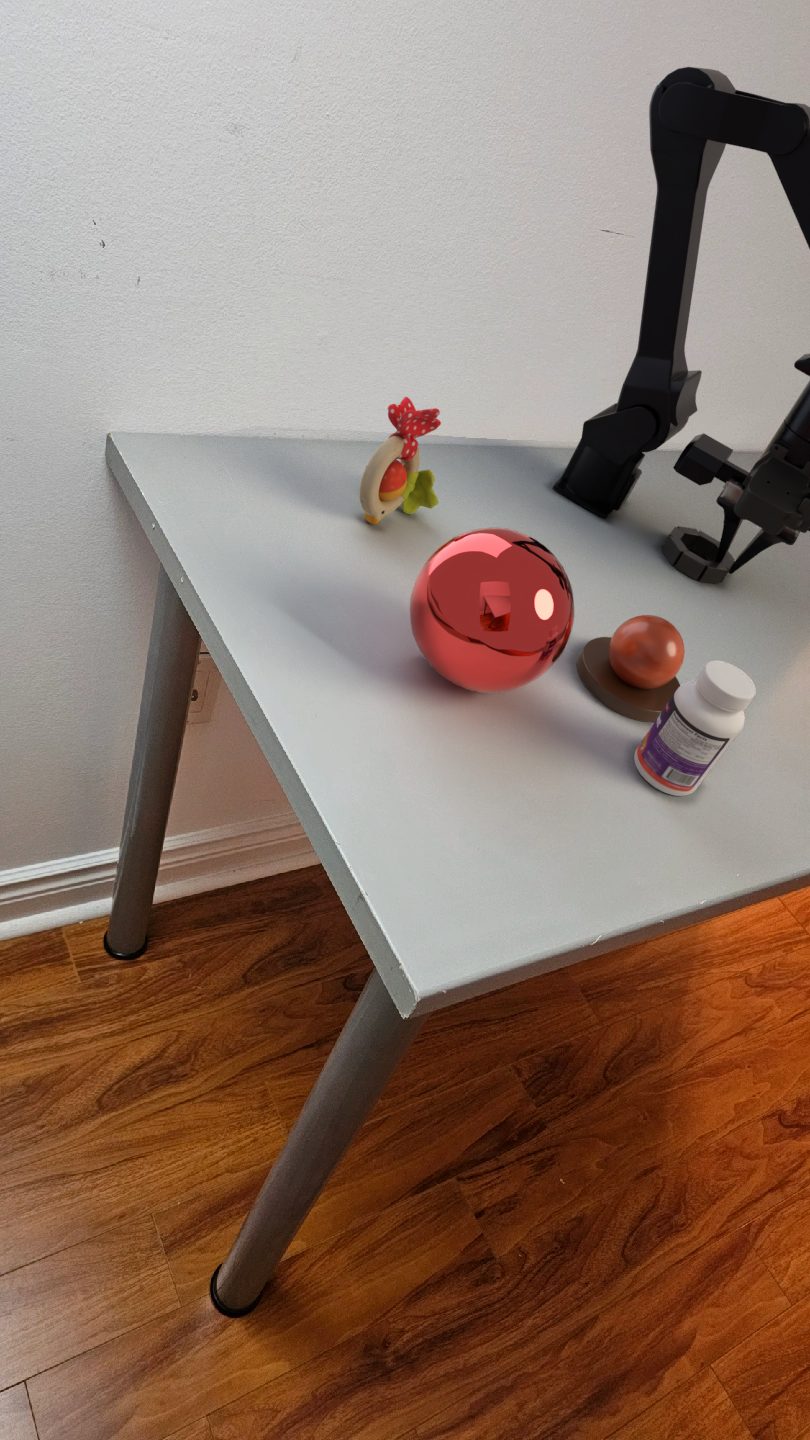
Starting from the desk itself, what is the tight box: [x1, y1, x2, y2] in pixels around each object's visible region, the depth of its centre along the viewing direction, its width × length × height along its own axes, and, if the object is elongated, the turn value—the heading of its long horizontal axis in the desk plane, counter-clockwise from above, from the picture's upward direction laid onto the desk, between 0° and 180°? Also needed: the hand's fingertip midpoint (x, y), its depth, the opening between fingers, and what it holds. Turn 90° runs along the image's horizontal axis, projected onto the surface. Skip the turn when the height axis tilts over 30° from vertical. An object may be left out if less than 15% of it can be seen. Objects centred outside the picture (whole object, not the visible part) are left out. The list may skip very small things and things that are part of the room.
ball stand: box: [576, 614, 685, 723], centre depth 86 cm, size 9×9×6 cm
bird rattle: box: [359, 396, 442, 525], centre depth 91 cm, size 6×11×9 cm
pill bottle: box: [633, 660, 757, 797], centre depth 78 cm, size 5×5×10 cm
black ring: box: [660, 525, 735, 585], centre depth 108 cm, size 7×7×2 cm
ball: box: [409, 526, 575, 694], centre depth 77 cm, size 12×12×12 cm
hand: (723, 568), depth 107 cm, fingers closed on black ring, 1 cm apart
